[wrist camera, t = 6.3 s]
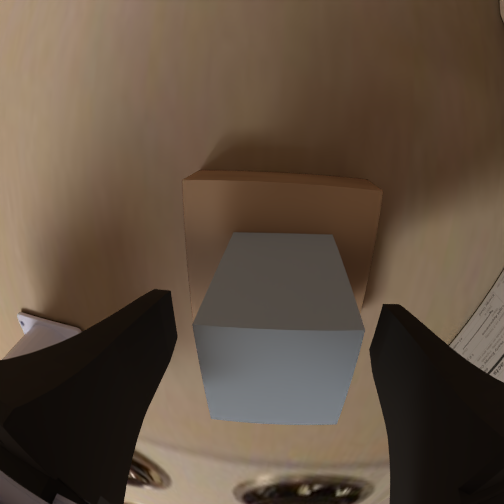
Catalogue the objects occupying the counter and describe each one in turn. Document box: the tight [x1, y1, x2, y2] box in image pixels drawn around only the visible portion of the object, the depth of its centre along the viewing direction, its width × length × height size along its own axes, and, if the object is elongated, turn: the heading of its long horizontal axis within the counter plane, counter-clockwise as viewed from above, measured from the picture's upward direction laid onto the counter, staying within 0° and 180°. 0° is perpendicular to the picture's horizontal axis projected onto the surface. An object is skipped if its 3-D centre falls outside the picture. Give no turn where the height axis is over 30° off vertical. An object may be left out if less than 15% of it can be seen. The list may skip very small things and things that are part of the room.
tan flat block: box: [182, 170, 383, 322], centre depth 14 cm, size 8×8×3 cm
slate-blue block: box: [192, 232, 365, 425], centre depth 10 cm, size 4×4×6 cm
